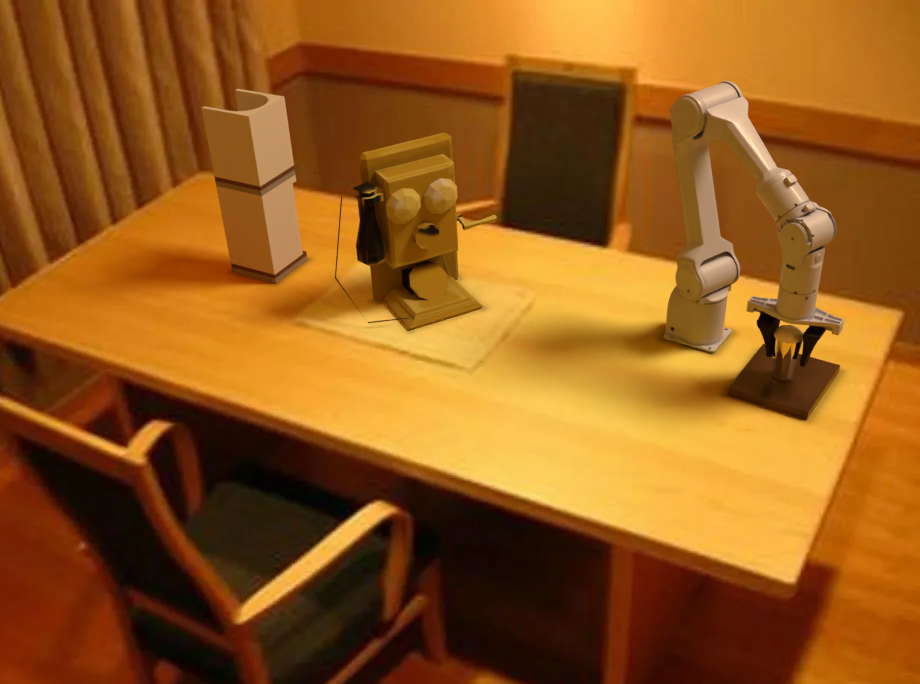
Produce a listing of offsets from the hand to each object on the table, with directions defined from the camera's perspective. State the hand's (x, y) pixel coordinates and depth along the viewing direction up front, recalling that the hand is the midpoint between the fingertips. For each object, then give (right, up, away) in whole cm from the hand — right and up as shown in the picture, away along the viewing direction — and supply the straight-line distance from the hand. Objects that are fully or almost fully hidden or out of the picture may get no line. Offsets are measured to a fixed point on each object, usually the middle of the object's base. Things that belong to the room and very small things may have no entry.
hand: (787, 358), depth 173 cm
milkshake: (0, -3, +2) cm, 4 cm away
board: (0, -4, +3) cm, 5 cm away
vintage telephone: (-58, +11, +32) cm, 67 cm away
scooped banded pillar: (-89, +20, +49) cm, 104 cm away
